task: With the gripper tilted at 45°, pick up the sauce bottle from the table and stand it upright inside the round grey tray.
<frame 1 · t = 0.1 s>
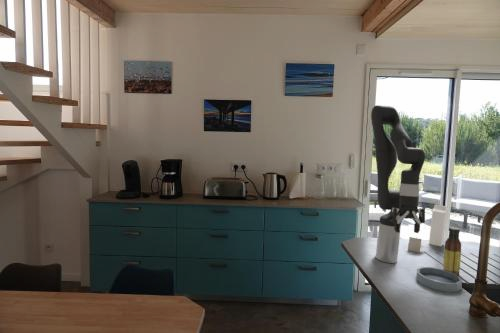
hand: (406, 232, 142), 17 cm above the counter, tool pointing down, fingers open, 8 cm apart
beige square block: (413, 251, 173), on the counter
milk: (436, 244, 186), on the counter
round grey tray: (437, 282, 135), on the counter
sauce bottle: (450, 272, 146), on the counter
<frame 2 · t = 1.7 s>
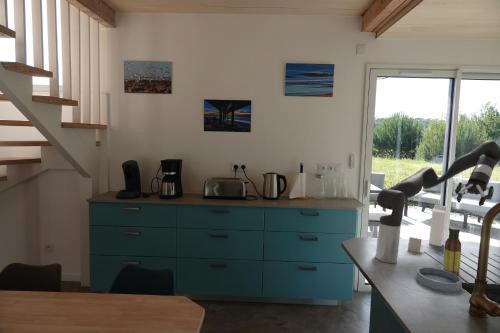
hand: (468, 203, 150), 30 cm above the counter, tool tilted 45°, fingers open, 8 cm apart
nothing on the counter moved.
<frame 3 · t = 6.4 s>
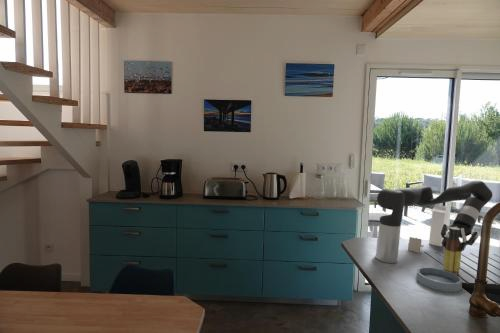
hand: (451, 248, 144), 11 cm above the counter, tool tilted 45°, fingers closed on sauce bottle, 6 cm apart
sauce bottle: (450, 272, 146), on the counter, touching gripper
everything else where it was.
when the fingers open (13 cm above the counter, at t = 11.8 s): sauce bottle drops 1 cm, resting on round grey tray.
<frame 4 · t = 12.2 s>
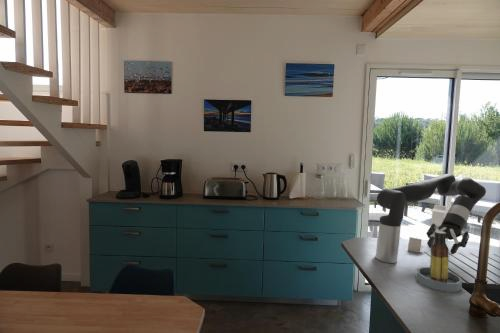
hand: (440, 249, 132), 14 cm above the counter, tool tilted 45°, fingers open, 8 cm apart
sauce bottle: (438, 280, 135), point 1 cm above the counter, touching round grey tray
everything else where it was.
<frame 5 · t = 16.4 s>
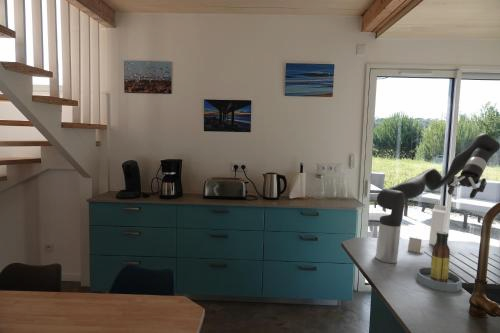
hand: (459, 195, 146), 34 cm above the counter, tool tilted 45°, fingers open, 8 cm apart
nothing on the counter moved.
at the end: sauce bottle inside the target area on the round grey tray (0.2 cm from its centre), point 0.6 cm above the round grey tray's base; sauce bottle tilted 0°; the gripper is holding nothing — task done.
